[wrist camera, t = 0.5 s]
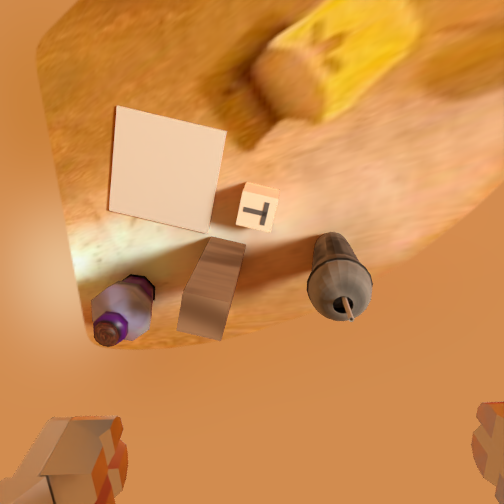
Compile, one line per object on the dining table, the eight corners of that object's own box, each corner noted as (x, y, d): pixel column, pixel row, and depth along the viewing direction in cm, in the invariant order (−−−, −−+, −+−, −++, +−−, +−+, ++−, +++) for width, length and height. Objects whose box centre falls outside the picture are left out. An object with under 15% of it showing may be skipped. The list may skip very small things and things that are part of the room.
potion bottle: (100, 271, 62) (59, 314, 51) (153, 259, 61) (122, 300, 50) (123, 319, 65) (88, 369, 54) (173, 309, 64) (148, 358, 53)
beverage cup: (299, 266, 59) (301, 354, 41) (310, 218, 56) (318, 289, 38) (350, 275, 59) (376, 368, 40) (364, 227, 56) (398, 304, 37)
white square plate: (118, 105, 52) (116, 105, 52) (226, 131, 52) (226, 131, 52) (110, 209, 58) (108, 210, 58) (208, 232, 58) (207, 233, 58)
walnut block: (211, 236, 58) (183, 291, 44) (245, 244, 58) (229, 302, 44) (205, 267, 60) (176, 330, 46) (238, 275, 60) (221, 341, 46)
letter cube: (246, 181, 55) (242, 190, 51) (280, 189, 55) (278, 199, 51) (239, 213, 57) (235, 224, 52) (272, 220, 57) (270, 232, 52)
